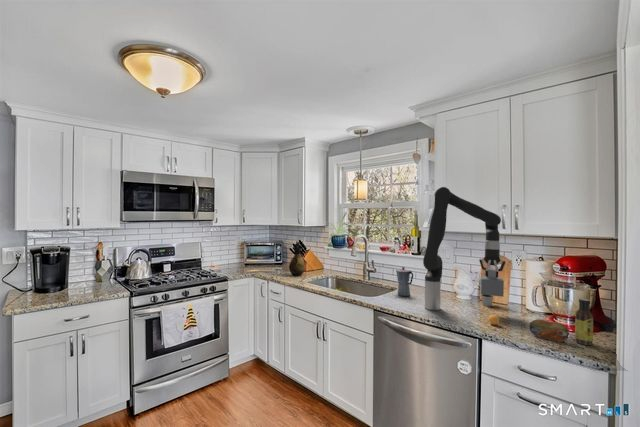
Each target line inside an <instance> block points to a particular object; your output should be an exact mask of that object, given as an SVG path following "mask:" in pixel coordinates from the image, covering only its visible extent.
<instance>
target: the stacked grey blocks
mask: <svg viewBox="0 0 640 427" xmlns="http://www.w3.org/2000/svg"><path fill="white" fill-rule="evenodd" d="M479 281H480V282H479V283H480V284H479V286H480V288H479V289H480V291H479V292H480V295H482V294H483V295H492V296H493V297H500V298H501V297H504V291H505V290H504V289H505V288H504V286H505V285H504V284H505V283H504V282H505V281H504V279H503V277H500V276H498V277H497V278H496V269H493V268H488V277H486V276H485V275H480V280H479Z"/></svg>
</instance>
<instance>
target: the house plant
mask: <svg viewBox="0 0 640 427" xmlns="http://www.w3.org/2000/svg"><path fill="white" fill-rule="evenodd" d="M477 283H479V284H476V286H477V287H478V290H480V282H479V281H477ZM480 297H481V305H482V306H484V307H492V305H493V301H494V296H492V295H483V294H480Z"/></svg>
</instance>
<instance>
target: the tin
mask: <svg viewBox="0 0 640 427" xmlns="http://www.w3.org/2000/svg"><path fill="white" fill-rule="evenodd" d="M528 327H529V331H530V333H531V334H533V336H534V337H537V338H539V339H543V340H549V341H552V342H556V343H557V342H558V343H564V342H566V341H567V340H568V338H569V335H570V332H569V329H568V328H567V327H566V326H565V325H564V324H563V323H560V322H555V321H550V320H545V319H540V318H538V319H537V318H536V319H534V320H532V321H530V323H529V326H528Z"/></svg>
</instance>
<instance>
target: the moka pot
mask: <svg viewBox="0 0 640 427" xmlns="http://www.w3.org/2000/svg"><path fill="white" fill-rule="evenodd" d="M395 272H396V278H397V281H398V285H397V287H398V288H397V295H398V296H401V297H409V296H411V291H410V285H412V282H413V278H414V273H413V272H412V270H407V269H405V267H404V266H402V267H401V269H397V270H395ZM410 276H411V277H410Z"/></svg>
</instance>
